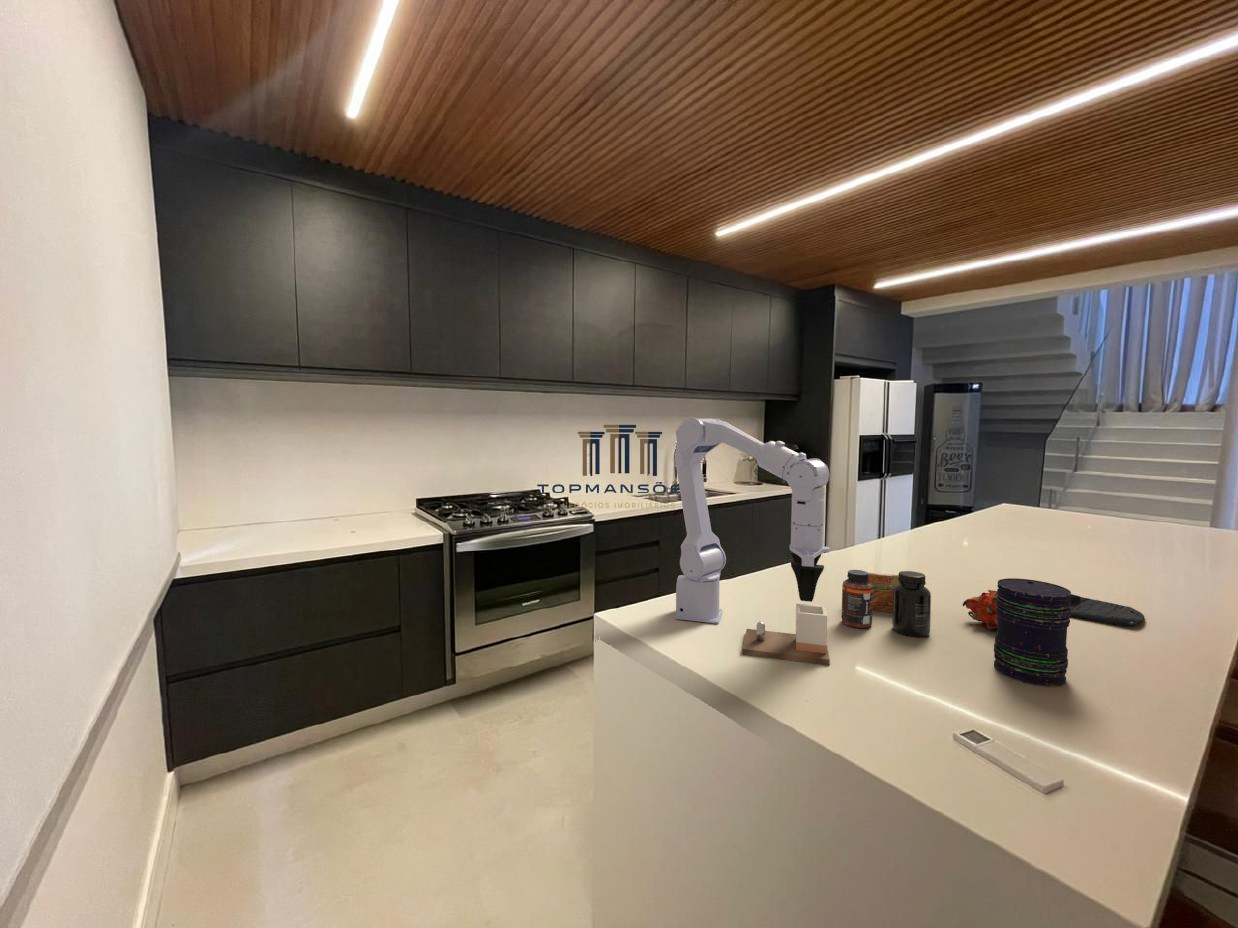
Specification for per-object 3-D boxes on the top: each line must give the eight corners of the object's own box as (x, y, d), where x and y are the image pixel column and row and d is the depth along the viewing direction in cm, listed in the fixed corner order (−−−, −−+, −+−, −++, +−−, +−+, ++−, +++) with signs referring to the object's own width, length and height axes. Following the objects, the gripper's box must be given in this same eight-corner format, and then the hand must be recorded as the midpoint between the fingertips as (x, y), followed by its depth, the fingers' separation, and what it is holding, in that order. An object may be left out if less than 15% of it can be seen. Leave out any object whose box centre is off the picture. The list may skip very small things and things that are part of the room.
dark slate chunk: (1136, 635, 103) (1138, 612, 103) (1005, 606, 120) (1005, 586, 120) (1148, 618, 113) (1150, 596, 112) (1024, 593, 130) (1025, 574, 130)
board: (742, 654, 95) (742, 648, 95) (746, 633, 105) (746, 628, 105) (829, 664, 91) (829, 659, 90) (825, 642, 100) (825, 637, 100)
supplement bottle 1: (875, 630, 106) (877, 576, 105) (844, 628, 107) (846, 575, 106) (867, 619, 112) (869, 568, 111) (838, 617, 113) (839, 567, 112)
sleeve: (796, 649, 94) (796, 612, 94) (795, 638, 99) (796, 603, 99) (826, 653, 93) (827, 615, 92) (824, 642, 98) (825, 606, 97)
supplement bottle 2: (927, 627, 107) (929, 571, 106) (932, 640, 101) (934, 580, 100) (890, 622, 110) (892, 567, 109) (892, 634, 104) (894, 576, 103)
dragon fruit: (1033, 647, 101) (965, 636, 111) (1043, 614, 105) (976, 606, 115) (1019, 617, 98) (951, 608, 108) (1029, 585, 102) (962, 579, 112)
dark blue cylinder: (1073, 693, 80) (1078, 600, 79) (995, 677, 86) (999, 590, 85) (1060, 667, 89) (1065, 583, 88) (990, 654, 94) (994, 575, 93)
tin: (848, 608, 119) (849, 572, 118) (847, 603, 122) (848, 569, 121) (922, 616, 113) (923, 579, 113) (920, 611, 116) (921, 575, 116)
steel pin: (756, 641, 98) (756, 622, 98) (756, 637, 100) (756, 619, 100) (764, 642, 98) (765, 623, 98) (765, 638, 99) (765, 620, 99)
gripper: (833, 532, 88) (831, 609, 89) (827, 517, 102) (825, 584, 103) (790, 529, 90) (788, 604, 91) (790, 516, 104) (788, 581, 105)
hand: (805, 594), depth 97 cm, fingers open, 7 cm apart
